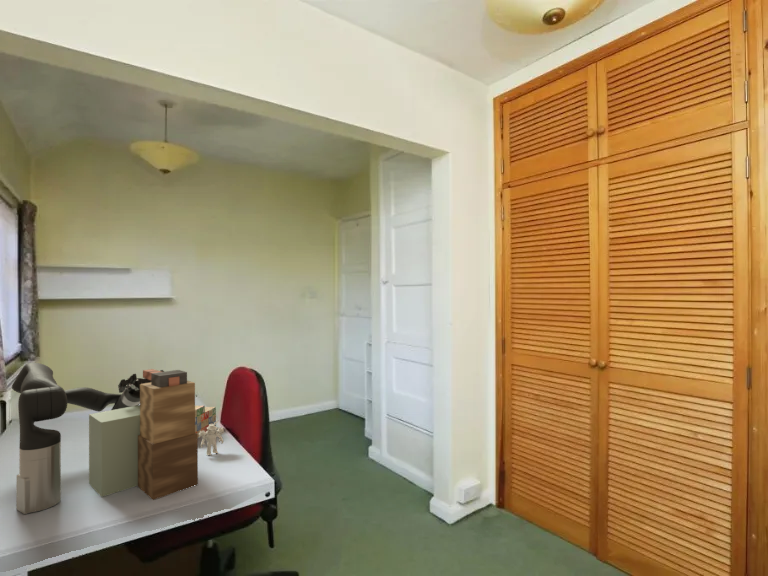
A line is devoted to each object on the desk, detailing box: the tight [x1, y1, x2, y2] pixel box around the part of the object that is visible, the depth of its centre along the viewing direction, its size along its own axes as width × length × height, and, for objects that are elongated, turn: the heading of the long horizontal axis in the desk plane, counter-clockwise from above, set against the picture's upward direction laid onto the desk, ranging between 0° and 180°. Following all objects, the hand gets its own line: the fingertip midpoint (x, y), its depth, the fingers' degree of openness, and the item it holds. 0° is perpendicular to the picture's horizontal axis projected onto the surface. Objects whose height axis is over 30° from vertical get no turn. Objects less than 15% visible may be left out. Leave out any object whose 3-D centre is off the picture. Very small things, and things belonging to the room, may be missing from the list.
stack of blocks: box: [195, 405, 217, 438], centre depth 182 cm, size 21×6×12 cm, turn 172°
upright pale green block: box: [88, 404, 140, 498], centre depth 139 cm, size 14×24×22 cm, turn 137°
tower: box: [137, 380, 199, 501], centre depth 132 cm, size 13×13×32 cm
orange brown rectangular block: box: [142, 368, 188, 388], centre depth 137 cm, size 23×8×4 cm, turn 47°
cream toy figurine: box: [198, 419, 225, 456], centre depth 159 cm, size 9×4×12 cm, turn 127°
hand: (149, 374), depth 143 cm, fingers open, 8 cm apart
